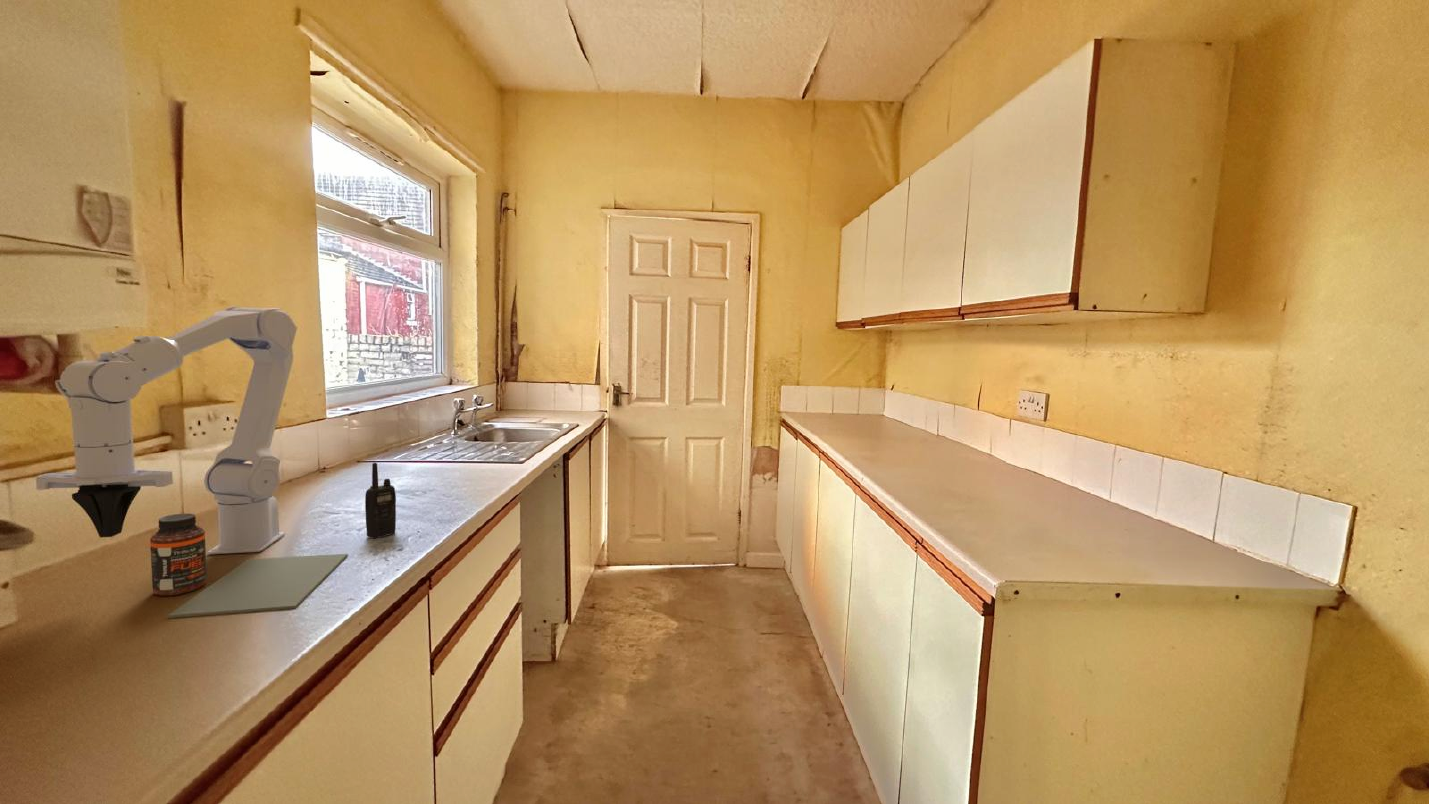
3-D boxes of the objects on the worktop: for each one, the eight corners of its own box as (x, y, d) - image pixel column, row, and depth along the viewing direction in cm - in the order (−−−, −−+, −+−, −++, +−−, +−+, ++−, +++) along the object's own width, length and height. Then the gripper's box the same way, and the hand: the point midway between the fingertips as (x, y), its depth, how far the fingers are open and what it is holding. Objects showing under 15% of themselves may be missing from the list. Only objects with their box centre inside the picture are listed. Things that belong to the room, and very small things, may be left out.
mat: (248, 561, 94) (248, 559, 94) (347, 555, 98) (347, 553, 98) (167, 618, 75) (167, 615, 75) (295, 608, 79) (295, 605, 79)
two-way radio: (370, 540, 105) (369, 465, 104) (359, 536, 108) (357, 461, 106) (399, 533, 110) (398, 460, 109) (388, 528, 112) (386, 457, 111)
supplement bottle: (173, 600, 80) (168, 525, 78) (141, 594, 81) (136, 520, 80) (217, 583, 85) (213, 513, 84) (187, 578, 87) (183, 509, 85)
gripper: (11, 449, 73) (20, 547, 74) (146, 448, 77) (152, 541, 78) (58, 440, 80) (65, 530, 81) (180, 440, 84) (184, 525, 85)
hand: (110, 535), depth 80 cm, fingers closed
